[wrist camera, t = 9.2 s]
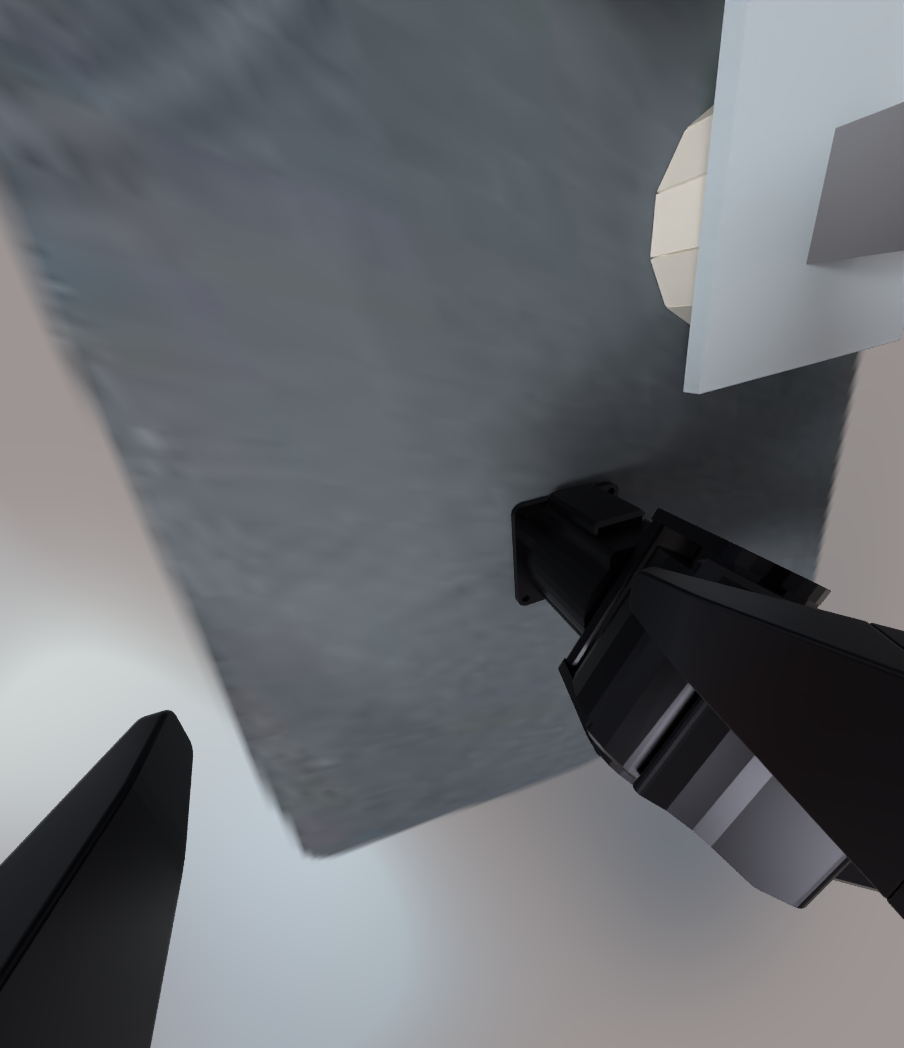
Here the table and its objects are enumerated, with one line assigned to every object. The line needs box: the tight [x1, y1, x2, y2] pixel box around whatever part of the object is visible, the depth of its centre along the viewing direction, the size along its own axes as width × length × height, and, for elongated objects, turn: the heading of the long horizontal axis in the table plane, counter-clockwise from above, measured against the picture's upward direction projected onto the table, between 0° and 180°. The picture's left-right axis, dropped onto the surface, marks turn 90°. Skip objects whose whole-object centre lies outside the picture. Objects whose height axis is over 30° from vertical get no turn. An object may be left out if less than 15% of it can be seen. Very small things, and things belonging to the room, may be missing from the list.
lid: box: [683, 0, 904, 394], centre depth 14 cm, size 12×12×5 cm
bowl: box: [650, 105, 714, 324], centre depth 17 cm, size 9×9×4 cm
